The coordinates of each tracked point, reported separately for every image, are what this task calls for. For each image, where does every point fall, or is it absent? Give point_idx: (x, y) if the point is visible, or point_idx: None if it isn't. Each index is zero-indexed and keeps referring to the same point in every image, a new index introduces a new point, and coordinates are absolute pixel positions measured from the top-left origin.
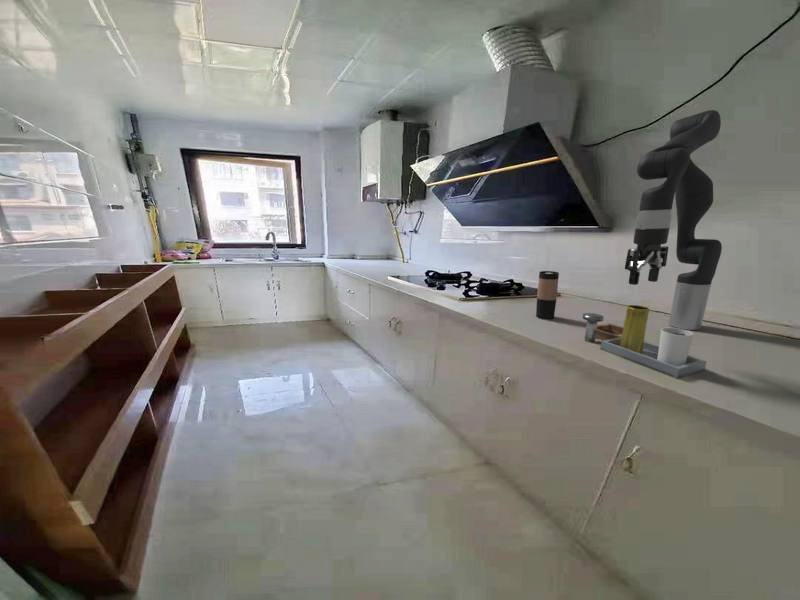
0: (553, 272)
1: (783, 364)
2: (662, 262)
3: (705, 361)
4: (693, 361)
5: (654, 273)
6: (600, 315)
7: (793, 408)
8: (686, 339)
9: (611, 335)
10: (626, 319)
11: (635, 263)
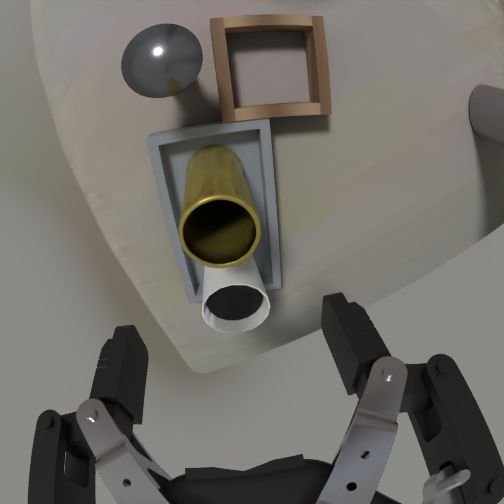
0: None
1: (408, 278)
2: (413, 418)
3: (276, 288)
4: (271, 270)
5: (340, 361)
6: (193, 64)
7: (256, 355)
8: (226, 325)
9: (220, 102)
10: (186, 196)
11: (79, 478)
